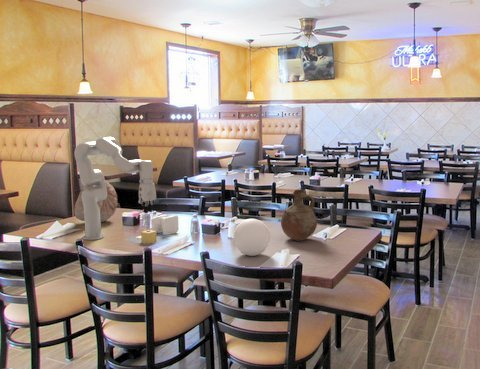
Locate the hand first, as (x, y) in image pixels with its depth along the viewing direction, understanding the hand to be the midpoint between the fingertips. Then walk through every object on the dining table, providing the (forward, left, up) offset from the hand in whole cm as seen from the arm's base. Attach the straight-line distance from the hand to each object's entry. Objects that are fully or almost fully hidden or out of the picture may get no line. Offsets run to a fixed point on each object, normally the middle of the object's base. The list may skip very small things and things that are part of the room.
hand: (147, 212), depth 302 cm
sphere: (+65, +15, -19) cm, 69 cm away
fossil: (-75, +19, -19) cm, 80 cm away
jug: (+68, +59, -19) cm, 92 cm away
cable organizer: (-10, +23, -19) cm, 32 cm away
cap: (0, 0, -18) cm, 18 cm away
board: (-5, +3, -19) cm, 20 cm away
